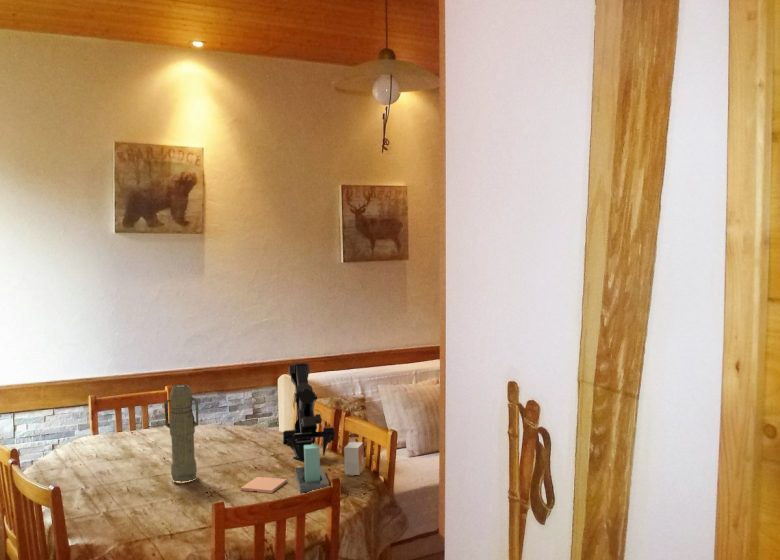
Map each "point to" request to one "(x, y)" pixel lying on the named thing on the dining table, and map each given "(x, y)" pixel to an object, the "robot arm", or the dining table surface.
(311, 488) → the grey slotted board
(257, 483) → the tile
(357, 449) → the small box
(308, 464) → the peg
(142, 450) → the dining table surface
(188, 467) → the thermos
